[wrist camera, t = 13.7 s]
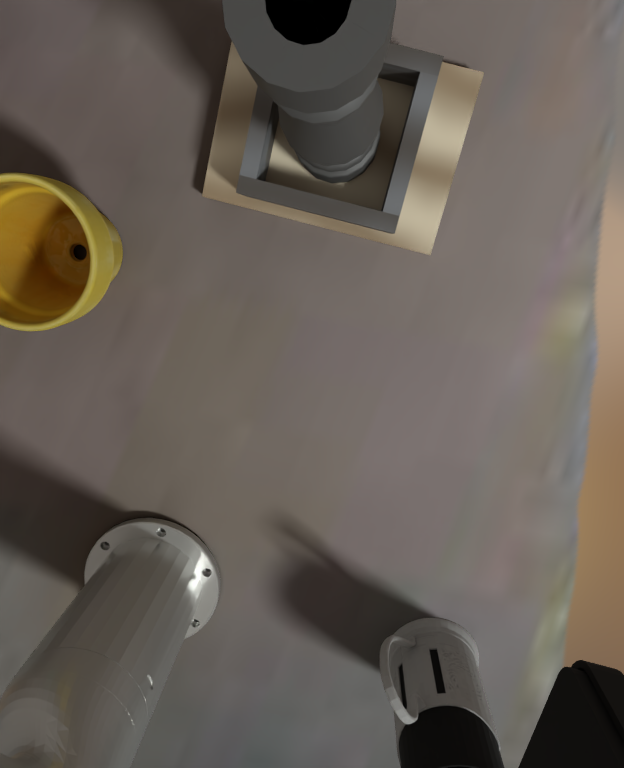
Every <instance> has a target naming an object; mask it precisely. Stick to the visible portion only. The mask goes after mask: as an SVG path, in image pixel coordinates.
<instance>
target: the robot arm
mask: <svg viewBox="0 0 624 768" xmlns="http://www.w3.org/2000/svg"><path fill="white" fill-rule="evenodd" d="M162 528H163V529H164V530H163V529H162ZM84 581H85V586H84V587H83V588H82V589H81V591H80V592H79V593H78V595H77V596H76V597H75V599H74V600H73V601H72V602H71V604H70V605H69V606H68V608H67V609H66V610H65V611H64V613H63V614H62V615H61V617H60V618H59V619H58V620H57V622H56V623H55V624H54V626H53V627H52V628H51V630H50V631H49V632H48V633H47V635H46V636H45V637H44V639H43V640H42V641H41V642H40V644H39V645H38V646H37V648H36V649H35V650H34V651H33V653H32V654H31V655H30V657H29V658H28V659H27V661H26V662H25V663H24V664H23V666H22V667H21V668H20V670H19V671H18V672H17V674H16V675H15V676H14V678H13V679H12V680H11V682H10V683H9V685H8V686H7V687H6V689H5V691H4V693H3V695H2V697H1V699H0V768H130V767H131V764H132V762H133V759H134V757H135V754H136V752H137V750H138V747H139V745H140V742H141V740H142V738H143V735H144V733H145V730H146V728H147V726H148V723H149V721H150V718H151V716H152V714H153V711H154V709H155V707H156V704H157V702H158V699H159V697H160V695H161V692H162V690H163V688H164V685H165V683H166V681H167V678H168V676H169V673H170V671H171V669H172V666H173V664H174V662H175V659H176V657H177V655H178V652H179V650H180V647H181V645H182V643H183V640H184V639H185V638H188V637H190V636H192V635H193V634H195V633H196V632H198V631H199V630H200V629H201V628H202V627H203V626H204V625H205V624H206V623H207V622H208V621H209V619H210V617H211V616H212V614H213V613H214V610H215V608H216V605H217V603H218V599H219V595H220V582H221V580H220V574H219V569H218V566H217V564H216V561H215V559H214V557H213V555H212V554H211V552H210V551H209V549H208V548H207V546H206V545H205V544H204V543H203V542H202V541H201V540H200V539H199V538H198V537H197V536H196V535H194V534H193V533H192V532H190V531H189V530H188V529H186V528H184V527H182V526H180V525H178V524H176V523H173V522H170V521H166V520H163V519H156V518H137V519H132V520H128V521H124V522H122V523H120V524H118V525H116V526H114V527H112V528H111V529H110V530H108V531H107V532H106V533H104V534H103V536H102V537H101V538H100V539H99V540H98V541H97V542H96V544H95V545H94V547H93V548H92V549H91V551H90V553H89V555H88V558H87V560H86V565H85V570H84ZM519 768H624V675H623V674H622V672H620V671H618V670H617V669H613V668H610V667H606V666H602V665H598V664H594V663H590V662H586V661H583V660H579V661H576V662H575V663H574V664H573V665H572V667H571V668H570V667H564V668H562V669H561V671H560V672H559V674H558V676H557V679H556V681H555V683H554V686H553V688H552V690H551V693H550V695H549V697H548V700H547V702H546V704H545V707H544V709H543V711H542V714H541V716H540V718H539V721H538V723H537V725H536V728H535V730H534V732H533V735H532V737H531V740H530V742H529V744H528V747H527V749H526V751H525V754H524V756H523V758H522V761H521V763H520V765H519Z"/></svg>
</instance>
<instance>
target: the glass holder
mask: <svg viewBox="0 0 624 768" xmlns="http://www.w3.org/2000/svg"><path fill="white" fill-rule="evenodd" d="M478 665H479V652H478V648H477V645H476V643H475V641H474V639H473V638H472V636H471V635H470V634H469V633H468V632H467V631H466V630H465V629H464V628H463V627H461V626H459V625H458V624H456V623H454V622H451V621H449V620H445V619H441V618H422V619H418V620H414V621H412V622H409V623H407V624H405V625H404V626H402V627H401V628H399V629H398V630H397V631H396V632H395V633H394V634H393V635H391V636H389V637H387V638H386V639H385V640H384V641H383V643H382V645H381V649H380V673H381V679H382V683H383V686H384V690H385V692H386V695H387V697H388V699H389V702H390V704H391V705H392V707H393V709H394V718H395V730H396V742H397V752H398V758H399V762H400V765H401V768H504V765H503V762H502V758H501V754H500V748H501V746H500V743H499V739H498V736H497V732H496V729H495V725H494V722H493V718H492V715H491V711H490V708H489V704H488V701H487V698H486V694H485V691H484V687H483V684H482V680H481V677H480V673H479V670H478Z"/></svg>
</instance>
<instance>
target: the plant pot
mask: <svg viewBox="0 0 624 768" xmlns="http://www.w3.org/2000/svg"><path fill="white" fill-rule="evenodd" d="M79 244H81V245H82V246H84V247H85V248H86V251H87V255H86V257H85V259H83V260H78V259H77V258H76V257H75V256H74V253H73V251H74V248H75V246H76V245H79ZM122 258H123V249H122V243H121V239H120V236H119V234H118V232H117V230H116V228H115V227H114V225H113V224H112V223H111V222H110V221H109V220H108V219H107V218H106V217H105V216H104V215H103V214H101V213H100V212H98V210H97V209H96V207H95V206H94V205H93V204H92V203H91V202H90V201H89V200H88V199H87V198H86V197H85V196H84V195H83V194H81V193H80V192H79V191H77V190H76V189H74V188H73V187H71V186H69V185H67V184H65V183H63V182H60V181H58V180H54V179H51V178H48V177H43V176H39V175H33V174H27V173H2V174H0V325H2V326H5V327H8V328H11V329H16V330H21V331H42V330H47V329H51V328H54V327H58V326H61V325H64V324H66V323H69V322H71V321H73V320H76V319H78V318H80V317H81V316H83V315H85V314H86V313H88V312H89V311H90V310H92V309H93V308H94V307H95V306H96V305H97V304H98V303H99V301H100V300H101V299H102V297H103V296H104V294H105V293H106V291H107V289H108V286H109V284H110V282H111V281H112V280H113V279H114V278H115V276H116V275H117V273H118V271H119V269H120V267H121V263H122Z"/></svg>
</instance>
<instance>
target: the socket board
mask: <svg viewBox="0 0 624 768" xmlns="http://www.w3.org/2000/svg"><path fill="white" fill-rule="evenodd" d="M443 57H444V56H441V55H437V54H433V53H429V52H425V51H421V50H417V49H413V48H409V47H405V46H401V45H398V44H394V43H390V44H389V47H388V50H387V53H386V57H385V60H384V63H383V66H382V70H381V71H380V73H379V74H378V78H377V81H378V83H379V85H380V87H381V89H382V95H383V111H384V114H383V118H382V121H381V125H380V140H379V144H378V148H377V151H376V154H375V157H374V160H373V162H372V163H371V164H370V165H369V167H368V168H367V169H366V170H365V172H364V173H363V174H361V175H359V176H358V177H356V178H354V179H352V180H351V181H349V182H342V183H329V182H326V181H323V180H319V179H317V178H315V177H314V176H313V175H312V174H311V173H310V172H308V171H307V170H306V169H305V168H304V167H303V165H302V164H301V162H300V161H299V159H298V157H297V155H296V153H295V151H294V149H293V148H292V147H291V146H290V145H289V143H288V141H287V139H286V137H285V135H284V133H283V131H282V129H281V127H280V121H279V111H278V105H277V104H276V103H275V102H274V101H273V99H272V98H271V97H270V96H269V95H268V94H267V93H265V92H264V91H263V90H262V89H261V88H260V87H259V86H257V84H256V82H255V81H254V79H253V78H252V76H251V74H250V73H249V71H248V69H247V68H246V66H245V65H244V63H243V61H242V60H241V58H240V56H239V54H238V52H237V50H236V48H235V46H234V44H233V42H231V47H230V52H229V58H228V63H227V68H226V73H225V79H224V84H223V89H222V94H221V99H220V105H219V110H218V115H217V120H216V126H215V131H214V136H213V141H212V147H211V152H210V157H209V162H208V167H207V173H206V178H205V183H204V188H203V194H202V196H203V197H206V198H210V199H214V200H218V201H222V202H226V203H230V204H233V205H237V206H241V207H245V208H249V209H253V210H257V211H261V212H264V213H268V214H272V215H276V216H280V217H284V218H288V219H292V220H295V221H299V222H303V223H307V224H311V225H315V226H319V227H323V228H327V229H330V230H334V231H338V232H342V233H346V234H350V235H354V236H358V237H361V238H365V239H369V240H373V241H377V242H381V243H385V244H389V245H393V246H396V247H400V248H404V249H408V250H412V251H416V252H420V253H424V254H427V255H431V251H432V248H433V244H434V241H435V238H436V234H437V231H438V227H439V224H440V221H441V217H442V214H443V210H444V207H445V204H446V200H447V197H448V193H449V190H450V187H451V183H452V180H453V176H454V173H455V170H456V166H457V163H458V159H459V156H460V153H461V149H462V146H463V142H464V139H465V136H466V132H467V129H468V126H469V122H470V119H471V115H472V112H473V109H474V105H475V102H476V98H477V95H478V92H479V88H480V85H481V81H482V78H483V75H484V72H480V71H476V70H472V69H468V68H464V67H460V66H456V65H452V64H449V63H445V62H442V61H443Z"/></svg>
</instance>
